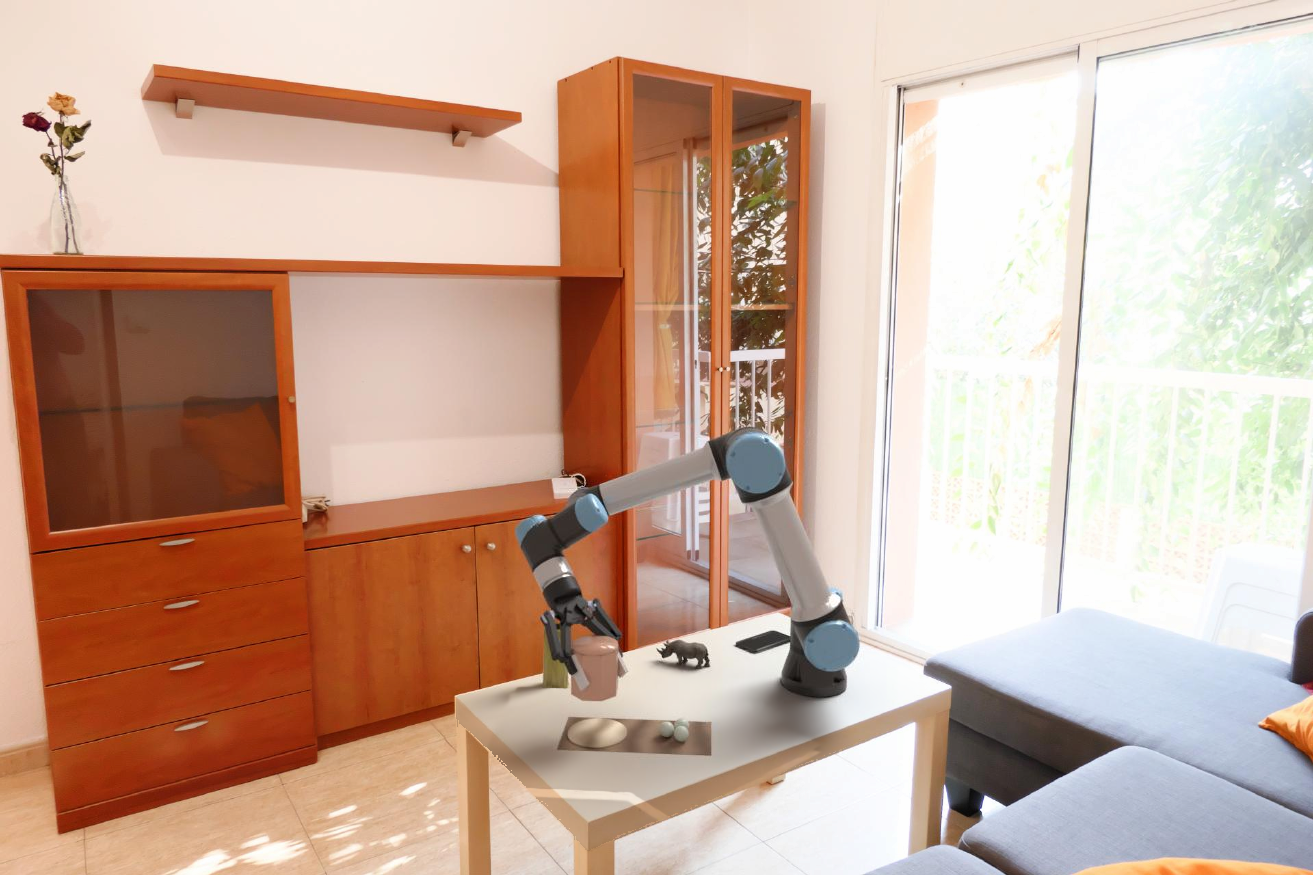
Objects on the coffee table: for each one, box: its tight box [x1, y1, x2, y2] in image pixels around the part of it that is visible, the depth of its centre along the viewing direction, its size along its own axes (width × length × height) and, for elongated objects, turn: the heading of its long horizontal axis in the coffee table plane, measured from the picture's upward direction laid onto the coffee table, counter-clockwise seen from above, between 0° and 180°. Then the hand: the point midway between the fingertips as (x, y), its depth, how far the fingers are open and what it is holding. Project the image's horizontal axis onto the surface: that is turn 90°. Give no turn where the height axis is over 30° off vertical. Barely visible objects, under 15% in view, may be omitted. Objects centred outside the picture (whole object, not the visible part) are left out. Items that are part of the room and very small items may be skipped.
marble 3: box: [674, 726, 689, 742], centre depth 173 cm, size 3×3×3 cm
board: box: [556, 716, 712, 757], centre depth 176 cm, size 30×14×1 cm, turn 86°
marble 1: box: [659, 721, 674, 737], centre depth 175 cm, size 3×3×3 cm
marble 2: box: [674, 717, 689, 730], centre depth 177 cm, size 3×3×3 cm
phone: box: [735, 629, 790, 654], centre depth 230 cm, size 8×1×15 cm
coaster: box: [568, 717, 627, 748], centre depth 176 cm, size 12×12×1 cm
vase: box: [541, 622, 570, 689], centre depth 201 cm, size 6×6×14 cm
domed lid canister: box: [570, 634, 619, 702], centre depth 174 cm, size 9×9×10 cm
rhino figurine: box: [656, 639, 711, 670], centre depth 215 cm, size 4×14×6 cm, turn 69°
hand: (604, 680), depth 172 cm, fingers closed on domed lid canister, 9 cm apart
